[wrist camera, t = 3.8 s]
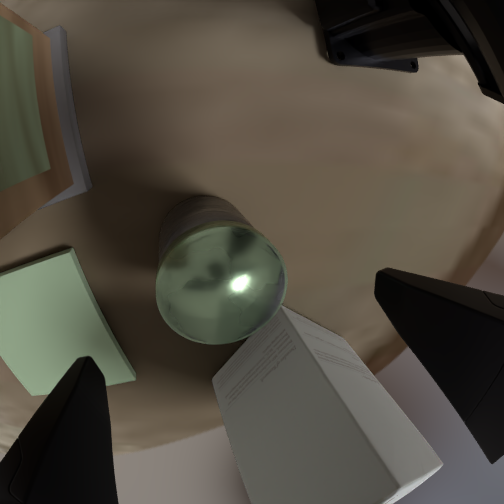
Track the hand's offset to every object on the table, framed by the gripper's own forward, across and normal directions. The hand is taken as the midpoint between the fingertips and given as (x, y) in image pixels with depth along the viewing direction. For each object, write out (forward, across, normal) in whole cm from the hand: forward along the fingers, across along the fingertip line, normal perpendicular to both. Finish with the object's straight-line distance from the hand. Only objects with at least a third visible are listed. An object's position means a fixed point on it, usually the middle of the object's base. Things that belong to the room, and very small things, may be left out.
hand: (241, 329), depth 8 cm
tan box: (+7, +8, -8) cm, 13 cm away
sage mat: (+7, +11, +3) cm, 13 cm away
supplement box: (+7, -3, +10) cm, 13 cm away
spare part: (+7, 0, 0) cm, 7 cm away
